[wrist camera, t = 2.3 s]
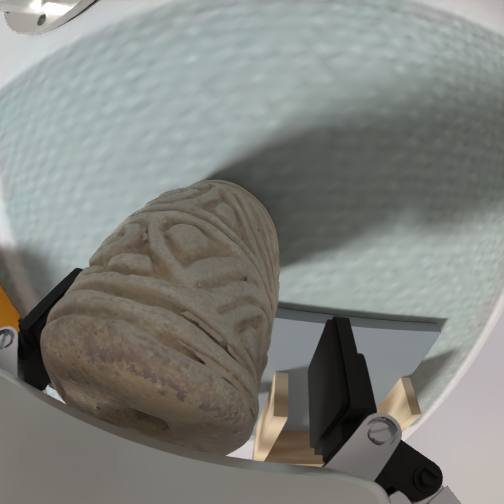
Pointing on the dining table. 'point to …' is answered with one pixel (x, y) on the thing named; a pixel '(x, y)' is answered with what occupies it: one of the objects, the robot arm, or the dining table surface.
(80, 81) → the dining table surface
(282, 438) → the end holder
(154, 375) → the carving
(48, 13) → the robot arm
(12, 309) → the bracket
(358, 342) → the board
